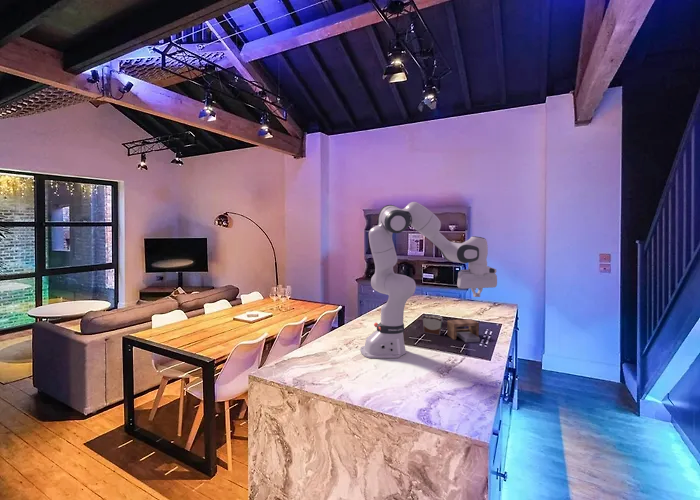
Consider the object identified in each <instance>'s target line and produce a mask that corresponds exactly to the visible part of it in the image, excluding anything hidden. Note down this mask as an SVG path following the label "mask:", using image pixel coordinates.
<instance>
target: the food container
mask: <svg viewBox="0 0 700 500" xmlns="http://www.w3.org/2000/svg"><path fill="white" fill-rule="evenodd" d="M421 319H422V326H423V333H424V334H425V333H426V334H431V335H434V336H435V335H437V336H441V329H442V323H443V321H444V320H443V316H441V315H437V314H431V313H430V314H428V313H427V314H422V316H421Z"/></svg>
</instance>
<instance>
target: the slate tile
mask: <svg viewBox="0 0 700 500" xmlns="http://www.w3.org/2000/svg"><path fill="white" fill-rule="evenodd" d="M456 337H458V338H459V339H460V340H462V341H463V342H464V343H480V341H481V338H480V337H478V336H476V335H474V334H473V333H471V332H469V331H467V332H457V334H456Z"/></svg>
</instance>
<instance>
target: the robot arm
mask: <svg viewBox="0 0 700 500" xmlns="http://www.w3.org/2000/svg"><path fill="white" fill-rule="evenodd" d="M376 224H377V225H375V226H373V227H371V228H370V229H369V231H368V241H369V248H370V251H371V255H372V259H373V263H374V268H375V269H374V274H373V275H372V276H371V278H370V286H371V288H372V289H373V290H374V291H376V292H378V293H380V294H383V295H386V296H387V295H388V299H387V302H386V303H384V304H383V305H382V306H381V308H380V322H379V323H378V322H374V324H373V326H374V327H375V328H376V330H375V331H374V332H373V333H371V334H370V335H368V336H367V337H366V339H365V342H364V345H363V346H361V347H360V349H359V350H360V353H361V354H362V356H364V357H366V358H368V359H400V358H401V356H403V355H405V354H406V353H407V349H406V345H405V339H404V335H405V323H404V313H405V306H406V303H407V302H408V300H409V299H410V298H411V297H412V296H413V295H414V294H415V292H416V289H417V287H416V286H417V284H416V281H415V279H413V278H412V277H410V276H407V275H405V274H400V273H395V271H394V267H395V266H396V265H397V263H398V256H397V252H396V248H395V244H394V241H393V234H400V233H402V232H404V231H406V230H407V228H409V227H412V228H413V229H414V230H415V231H416V232H418V233H419V234H420V235H422V236H423V237H425V238H426V239H427V240H429V241H430V243H432V244H433V245H434V246H435V247H436V248H437V249H438V250H439V251H440V253H441V255H442V256H443V258H444V259H445V261H447V262H451V263H458V264H459V263H460V264H468V265H467V266H468V267H467V269H460V270H459V271H458V273H457V280H456V281H457V283H456V286H457V288H458V289H461V290H462V289H463V290H464V289H471V292H472V297H473V298H480V297H481V294H482V292H483V290H484V289H486V288H493V289H494V288H496V287H497V286H498V276H497V268H494V267H492V266H488V261H487V259H488V250H489V249H488V248H489V246H488V240H487V239H486V238H485V237H481V236H470V237H469V239H467V240H466V241H463V242H455V241H451V240H448V239H447V238H446V237H445V235H443V234H442V233H441V232H440V231H441V227H442V222H441V220H440V219H439V217H438V216H437V215H436V214H435V213H434V212H432V211H431V210H430V209H429V208H427V207H426V206H424V205H423V204H421V203H419V202H417V201H411V202H409V203H408V204H407V205H406V206H405V207H404V208H400V207H398V206H396V205H394V204H393V205H392V204H386V205H384V206H383V207H382V208H381V209H380V210H379V212H378V217H377V221H376ZM476 290H477V292H476Z"/></svg>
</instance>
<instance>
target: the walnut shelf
mask: <svg viewBox="0 0 700 500" xmlns="http://www.w3.org/2000/svg"><path fill="white" fill-rule="evenodd" d="M446 322H447V324H446V325H447V326H446V336H448V337H449V338H451V339H452V340H457V336H456V334H457V332H467V331H469V332H471V333H473V334H474V335H476V336H478V337H479V334H480V333H479V331H480V322H478V321H476V320H475V319H472V318H470V319H469V318H466V319H449V320H448V319H447V321H446ZM459 327H460V328H459ZM461 327H468V328H461ZM479 338H480V337H479Z"/></svg>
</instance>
